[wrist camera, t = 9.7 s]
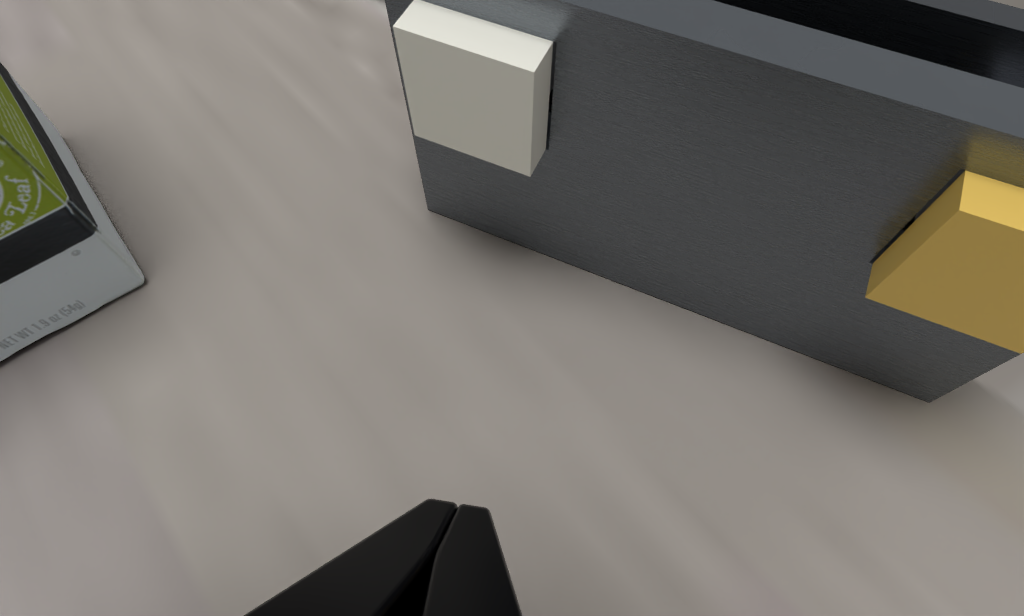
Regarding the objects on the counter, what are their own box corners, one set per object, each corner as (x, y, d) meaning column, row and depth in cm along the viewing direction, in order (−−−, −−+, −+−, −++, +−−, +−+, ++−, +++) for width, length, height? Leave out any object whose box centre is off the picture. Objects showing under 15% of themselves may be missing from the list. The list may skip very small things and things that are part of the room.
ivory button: (530, 176, 19) (533, 72, 15) (414, 135, 20) (392, 26, 16) (585, 77, 21) (600, -36, 17) (478, 43, 21) (471, -73, 18)
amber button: (1021, 354, 16) (1165, 277, 13) (865, 297, 17) (958, 210, 13) (1032, 221, 18) (1161, 122, 14) (892, 176, 19) (980, 70, 15)
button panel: (929, 402, 22) (1281, 215, 12) (427, 209, 26) (373, -56, 16) (944, 306, 23) (1263, 71, 14) (472, 138, 27) (450, -141, 17)
